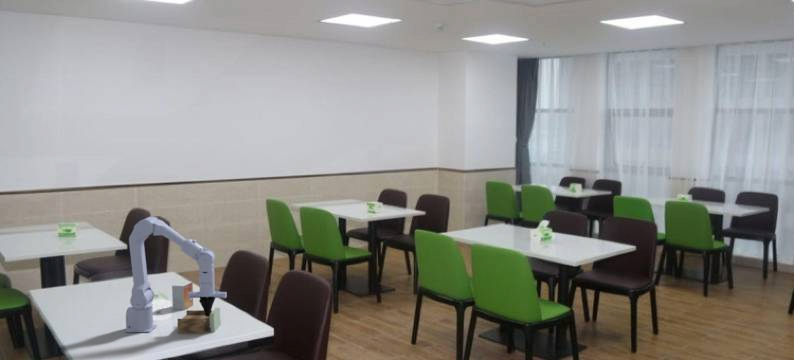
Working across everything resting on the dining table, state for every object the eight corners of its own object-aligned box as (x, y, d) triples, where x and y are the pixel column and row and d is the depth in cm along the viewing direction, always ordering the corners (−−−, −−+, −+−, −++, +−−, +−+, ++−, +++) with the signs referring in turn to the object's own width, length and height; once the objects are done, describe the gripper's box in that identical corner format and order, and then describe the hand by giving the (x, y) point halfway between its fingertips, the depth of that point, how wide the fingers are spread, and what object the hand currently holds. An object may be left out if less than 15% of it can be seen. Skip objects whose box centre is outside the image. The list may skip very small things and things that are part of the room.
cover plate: (209, 314, 254) (213, 314, 254) (215, 307, 263) (219, 307, 263) (210, 332, 255) (214, 332, 255) (217, 324, 264) (220, 324, 264)
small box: (184, 310, 283) (183, 286, 282) (172, 309, 285) (171, 285, 284) (193, 305, 291) (192, 281, 290) (182, 304, 292) (181, 281, 291)
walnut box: (177, 333, 253) (177, 319, 253) (187, 323, 265) (187, 310, 265) (204, 333, 253) (203, 319, 253) (212, 323, 265) (212, 310, 265)
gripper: (228, 279, 261) (229, 312, 263) (191, 279, 261) (192, 312, 263) (223, 283, 254) (224, 318, 256) (185, 283, 254) (187, 318, 256)
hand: (208, 315), depth 259 cm, fingers closed
